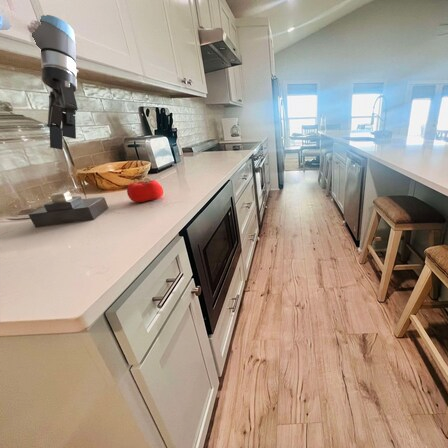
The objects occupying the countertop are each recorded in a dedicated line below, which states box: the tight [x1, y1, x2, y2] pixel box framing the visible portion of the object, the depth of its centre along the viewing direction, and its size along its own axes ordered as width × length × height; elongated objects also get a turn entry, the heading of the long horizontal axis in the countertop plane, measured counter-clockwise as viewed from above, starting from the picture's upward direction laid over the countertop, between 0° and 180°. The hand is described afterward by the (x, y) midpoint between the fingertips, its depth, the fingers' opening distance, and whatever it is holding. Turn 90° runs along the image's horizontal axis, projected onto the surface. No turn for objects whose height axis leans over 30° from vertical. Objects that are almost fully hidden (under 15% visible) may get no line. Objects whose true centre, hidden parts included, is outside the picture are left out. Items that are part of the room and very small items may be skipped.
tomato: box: [126, 179, 164, 203], centre depth 86 cm, size 10×11×6 cm
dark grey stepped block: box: [28, 195, 109, 229], centre depth 72 cm, size 14×11×6 cm
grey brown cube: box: [49, 191, 73, 203], centre depth 69 cm, size 3×3×2 cm
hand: (62, 143), depth 72 cm, fingers open, 13 cm apart
